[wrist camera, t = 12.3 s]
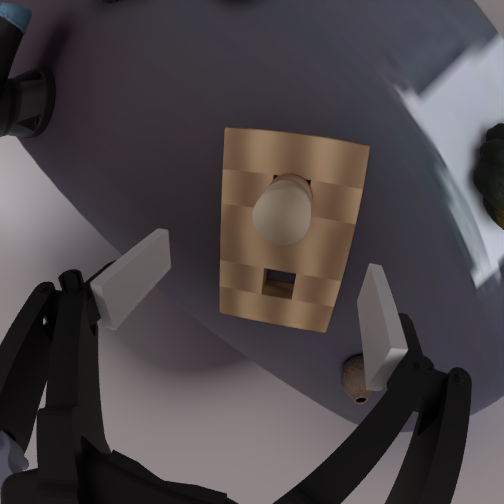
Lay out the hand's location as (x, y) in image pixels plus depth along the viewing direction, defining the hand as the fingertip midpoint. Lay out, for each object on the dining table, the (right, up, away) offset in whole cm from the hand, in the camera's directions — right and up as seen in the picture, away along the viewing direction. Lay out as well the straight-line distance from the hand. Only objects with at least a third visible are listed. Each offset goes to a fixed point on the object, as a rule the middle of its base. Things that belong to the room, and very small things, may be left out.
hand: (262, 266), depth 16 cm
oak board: (+4, +4, +20) cm, 21 cm away
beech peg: (+4, +9, +17) cm, 20 cm away
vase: (+19, -19, +29) cm, 39 cm away
